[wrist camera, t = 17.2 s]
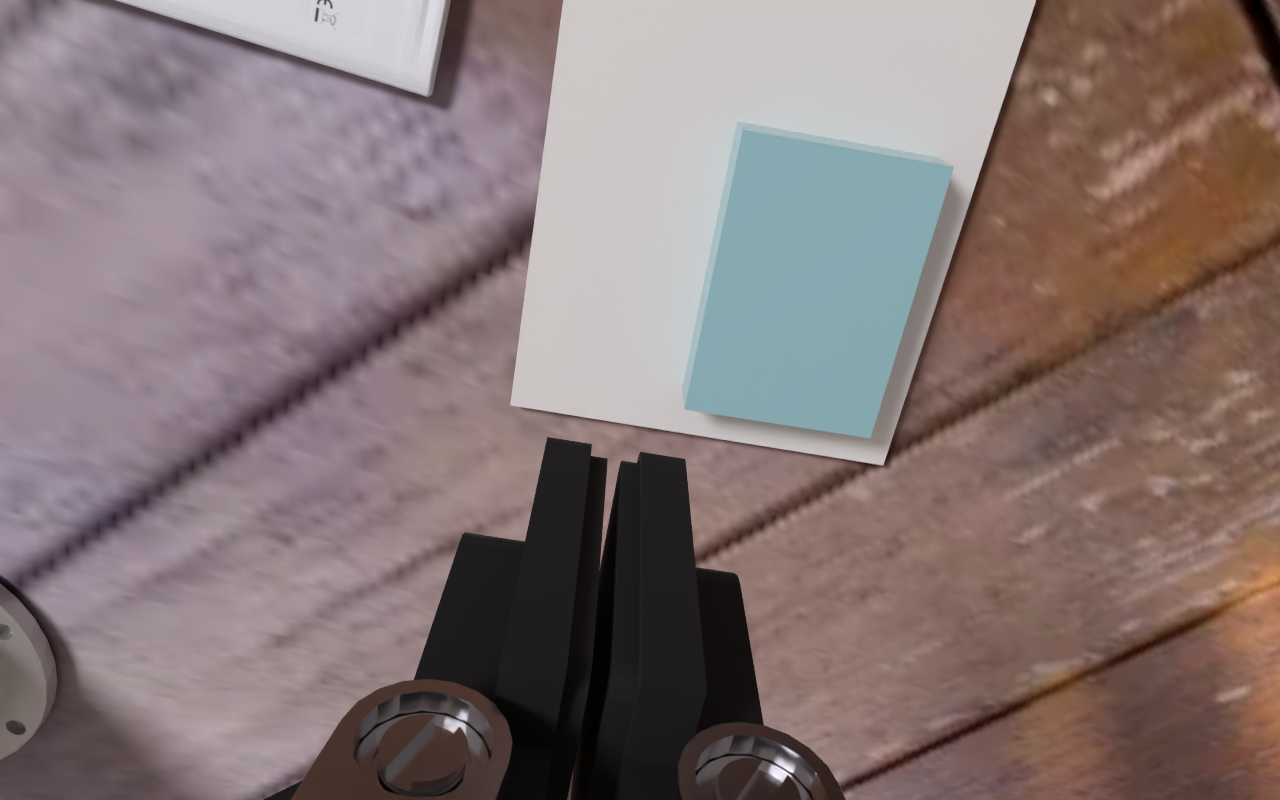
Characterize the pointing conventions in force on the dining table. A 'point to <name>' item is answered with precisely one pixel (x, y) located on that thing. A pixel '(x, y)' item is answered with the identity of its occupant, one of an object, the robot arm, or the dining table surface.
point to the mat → (696, 169)
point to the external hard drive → (332, 32)
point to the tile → (810, 278)
